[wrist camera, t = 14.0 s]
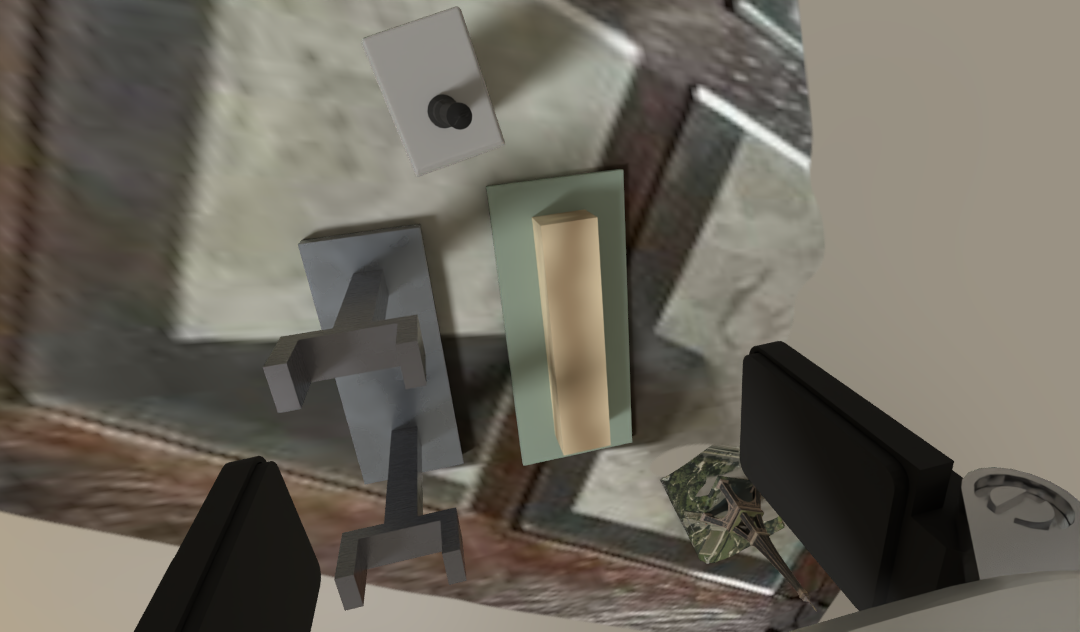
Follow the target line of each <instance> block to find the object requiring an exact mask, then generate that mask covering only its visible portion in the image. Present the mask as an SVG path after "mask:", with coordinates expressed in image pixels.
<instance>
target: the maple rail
mask: <svg viewBox="0 0 1080 632" xmlns="http://www.w3.org/2000/svg"><path fill="white" fill-rule="evenodd" d="M532 224H533V233H534V242H535V252H536V261H537V270H538V280H539V289H540V298H541V308H542V317H543V326H544V336H545V345H546V354H547V364H548V373H549V382H550V392H551V401H552V410H553V420H554V429H555V436H556V438H557V440H558V443H559V445H560V448H561V450H562V452H563V455H564V456H565V455H569V454H574V453H578V452H583V451H588V450H592V449H597V448H601V447H606V446H610V445H611V440H610V423H609V406H608V389H607V372H606V355H605V338H604V321H603V303H602V286H601V269H600V252H599V235H598V218H597V217H596V216H595V215H593V214H591V213H590V212H588V211H587V210H585V209H584V210H577V211H571V212H564V213H557V214H550V215H543V216H537V217H532Z"/></svg>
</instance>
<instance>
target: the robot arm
mask: <svg viewBox="0 0 1080 632" xmlns="http://www.w3.org/2000/svg"><path fill="white" fill-rule="evenodd" d="M740 463H741V467H742V470H743V472H744V474H745V475H746V476H747V478H748V479H749V480H750V481H751V483H752V484H753V485H754V486H755V487H756V489H757V490H758V491H759V492H760V493H761V495H762V496H763V497H764V498H765V499H766V501H767V502H768V503H769V504H770V505H771V507H772V508H773V509H774V510H775V511H776V513H777V514H778V515H779V516H780V517H781V519H782V520H783V521H784V522H785V523H786V524H787V526H788V527H789V528H790V529H791V530H792V532H793V533H794V534H795V535H796V536H797V538H798V539H799V540H800V541H801V542H802V544H803V545H804V546H805V547H806V548H807V550H808V551H809V552H810V553H811V554H812V556H813V557H814V558H815V559H816V560H817V562H818V563H819V564H820V565H821V566H822V568H823V569H824V570H825V571H826V572H827V574H828V575H829V576H830V577H831V578H832V580H833V581H834V582H835V583H836V584H837V586H838V587H839V588H840V589H841V590H842V592H843V593H844V594H845V595H846V596H847V598H848V599H849V600H850V601H851V602H852V604H853V605H854V606H855V607H856V608H857V609H858V610H859V611H858V612H855V613H852V614H848V615H845V616H841V617H838V618H835V619H831V620H828V621H824V622H821V623H817V624H814V625H811V626H807V627H804V628H800V629H797V630H793V631H790V632H1080V502H1079V501H1078V500H1077V499H1076V498H1075V497H1074V496H1072V495H1071V494H1070V493H1069V492H1068V491H1066V490H1064V489H1062V488H1061V487H1059V486H1057V485H1055V484H1054V483H1052V482H1050V481H1048V480H1045V479H1042V478H1040V477H1037V476H1035V475H1032V474H1029V473H1025V472H1021V471H1017V470H1013V469H1006V468H996V467H991V468H980V469H977V470H974V471H971V472H969V473H968V474H967V475H966V476H965V477H964V478H962V477H961V476H960V475H958V474H957V473H955V472H954V471H953V470H952V468H953V463H954V461H953V460H952V459H950V458H949V457H947V456H946V455H944V454H943V453H942V452H940V451H939V450H937V449H936V448H934V447H933V446H932V445H930V444H929V443H927V442H926V441H924V440H923V439H922V438H920V437H919V436H917V435H916V434H914V433H913V432H912V431H910V430H908V429H907V428H906V427H904V426H903V425H902V424H900V423H899V422H897V421H896V420H894V419H893V418H891V417H890V416H889V415H887V414H886V413H884V412H883V411H882V410H880V409H879V408H877V407H876V406H874V405H873V404H871V403H870V402H868V401H867V400H866V399H864V398H863V397H862V396H860V395H859V394H857V393H856V392H854V391H853V390H851V389H850V388H849V387H847V386H846V385H844V384H843V383H841V382H840V381H839V380H837V379H836V378H834V377H833V376H832V375H830V374H829V373H827V372H826V371H824V370H823V369H821V368H820V367H819V366H817V365H816V364H814V363H813V362H811V361H810V360H809V359H807V358H806V357H804V356H803V355H801V354H800V353H799V352H797V351H796V350H794V349H793V348H791V347H790V346H788V345H787V344H786V343H784V342H782V341H777V342H772V343H767V344H763V345H758V346H754V347H753V348H751V350H750V353H749V355H746V356H745V357H744V359H743V376H742V406H741V435H740ZM320 582H321V572H320V566H319V563H318V561H317V558H316V556H315V553H314V551H313V549H312V546H311V544H310V542H309V539H308V537H307V534H306V532H305V530H304V527H303V525H302V523H301V520H300V518H299V515H298V513H297V511H296V508H295V506H294V504H293V501H292V499H291V496H290V494H289V492H288V489H287V487H286V484H285V482H284V480H283V477H282V475H281V473H280V470H279V468H278V466H277V464H276V463H275V462H273V461H270V462H266V460H265V459H264V458H263V457H261V456H256V457H252V458H247V459H243V460H238V461H234V462H229V463H227V464H225V465H224V467H223V468H222V470H221V472H220V473H219V475H218V477H217V479H216V481H215V483H214V485H213V486H212V488H211V490H210V492H209V494H208V496H207V498H206V499H205V501H204V503H203V505H202V507H201V509H200V511H199V513H198V514H197V516H196V518H195V520H194V522H193V524H192V526H191V527H190V529H189V531H188V533H187V535H186V537H185V539H184V540H183V542H182V544H181V546H180V548H179V550H178V552H177V554H176V555H175V557H174V559H173V560H172V562H171V563H170V565H169V567H168V569H167V571H166V573H165V575H164V577H163V579H162V580H161V582H160V584H159V586H158V588H157V589H156V591H155V593H154V595H153V597H152V599H151V601H150V603H149V605H148V606H147V608H146V610H145V612H144V614H143V616H142V617H141V619H140V621H139V623H138V625H137V627H136V628H135V630H134V632H310V631H311V626H312V622H313V617H314V612H315V607H316V603H317V598H318V593H319V588H320Z"/></svg>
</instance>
